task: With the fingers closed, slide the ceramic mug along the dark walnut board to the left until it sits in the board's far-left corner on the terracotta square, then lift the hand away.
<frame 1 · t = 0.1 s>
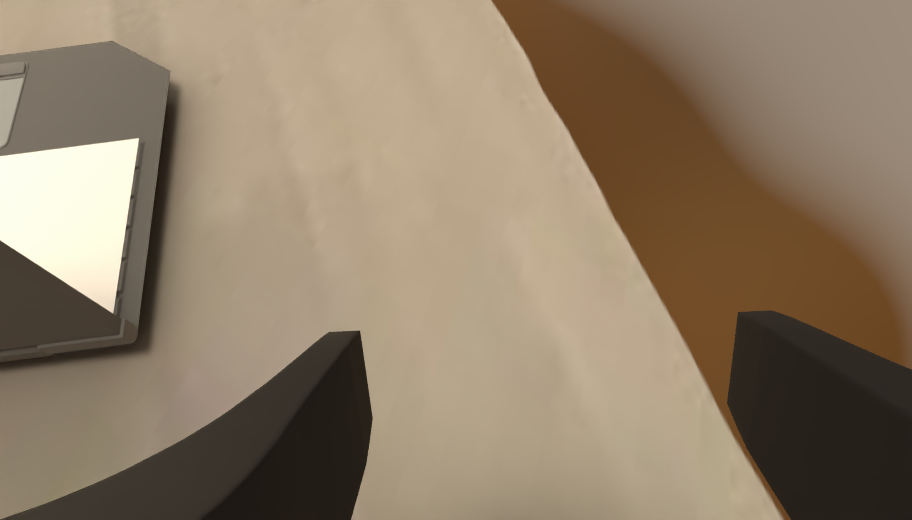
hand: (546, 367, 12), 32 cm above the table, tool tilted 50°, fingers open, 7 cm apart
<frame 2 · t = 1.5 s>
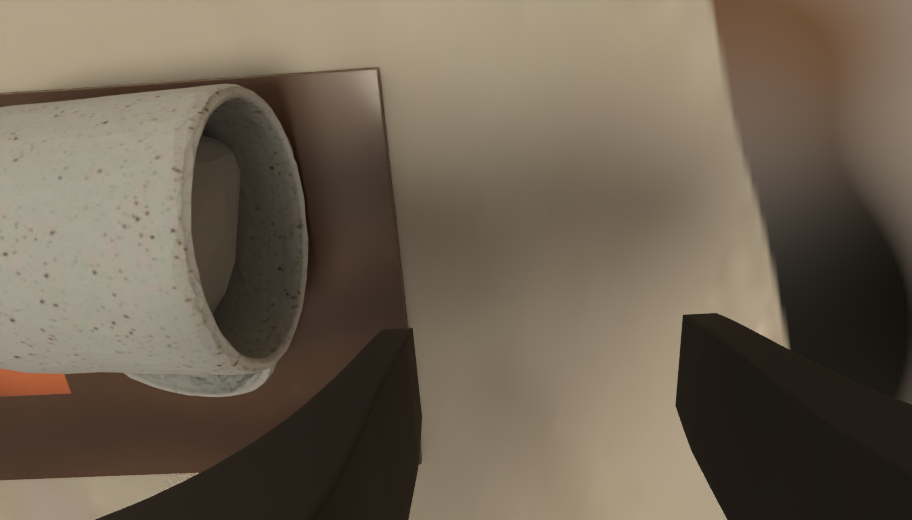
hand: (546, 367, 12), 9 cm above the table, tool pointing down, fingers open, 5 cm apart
walnut board: (60, 306, 22), on the table
ceramic mug: (206, 233, 21), resting on walnut board
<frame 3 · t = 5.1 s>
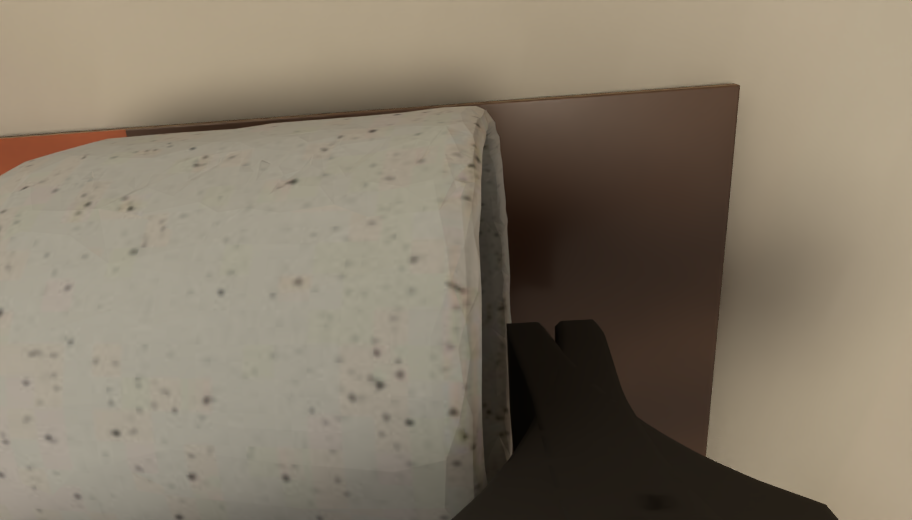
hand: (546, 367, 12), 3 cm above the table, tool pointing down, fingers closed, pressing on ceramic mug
walnut board: (226, 412, 16), on the table
ceramic mug: (355, 310, 15), resting on walnut board, touching gripper
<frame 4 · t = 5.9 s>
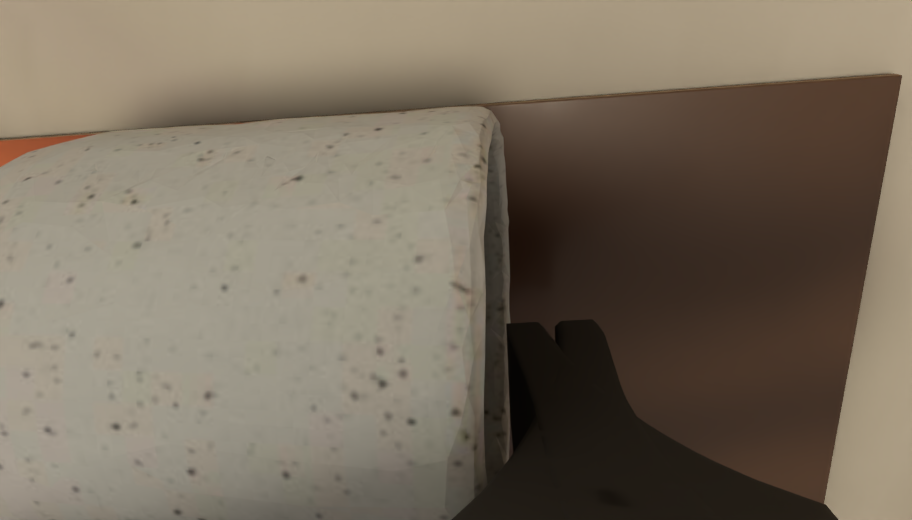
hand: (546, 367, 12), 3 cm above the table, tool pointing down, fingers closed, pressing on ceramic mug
walnut board: (348, 407, 16), on the table
ceramic mug: (354, 308, 15), resting on walnut board, touching gripper
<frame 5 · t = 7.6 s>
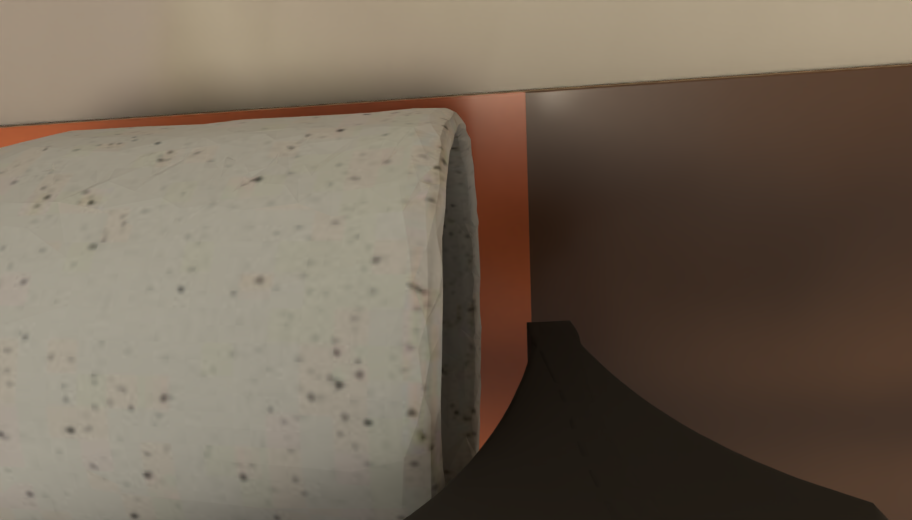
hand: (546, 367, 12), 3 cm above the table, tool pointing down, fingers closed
walnut board: (552, 392, 16), on the table
ceramic mug: (326, 309, 15), resting on walnut board, touching gripper
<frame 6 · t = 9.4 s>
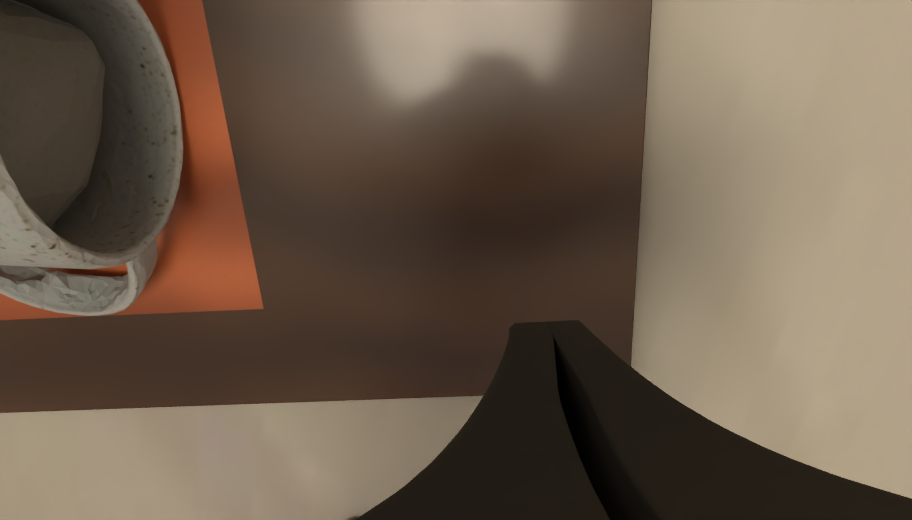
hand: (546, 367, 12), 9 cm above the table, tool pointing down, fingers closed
walnut board: (262, 211, 21), on the table
ceramic mug: (79, 140, 20), resting on walnut board
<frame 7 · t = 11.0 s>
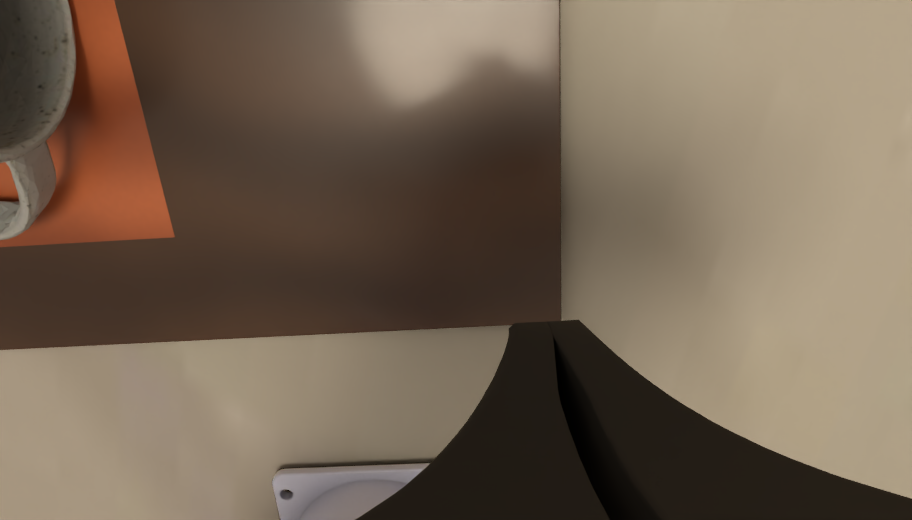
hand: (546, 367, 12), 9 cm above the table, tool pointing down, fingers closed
walnut board: (168, 130, 20), on the table
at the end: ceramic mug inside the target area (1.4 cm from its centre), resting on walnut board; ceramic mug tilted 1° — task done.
